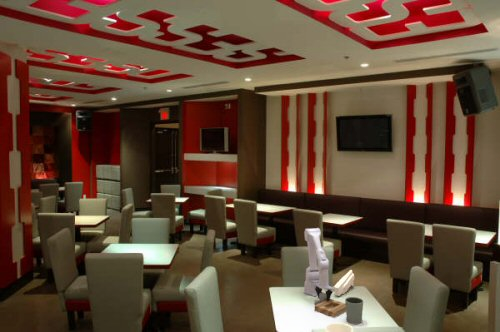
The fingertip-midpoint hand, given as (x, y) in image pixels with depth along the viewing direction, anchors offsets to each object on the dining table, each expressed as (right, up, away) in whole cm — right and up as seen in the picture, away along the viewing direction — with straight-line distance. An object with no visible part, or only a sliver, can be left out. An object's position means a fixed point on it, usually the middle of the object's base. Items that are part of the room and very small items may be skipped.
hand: (323, 300), depth 261 cm
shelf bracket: (+18, -1, +21) cm, 27 cm away
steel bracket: (-2, -2, -1) cm, 3 cm away
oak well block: (+3, -3, -10) cm, 11 cm away
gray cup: (+13, -4, -24) cm, 28 cm away
